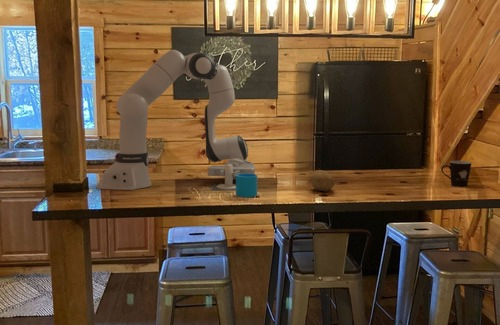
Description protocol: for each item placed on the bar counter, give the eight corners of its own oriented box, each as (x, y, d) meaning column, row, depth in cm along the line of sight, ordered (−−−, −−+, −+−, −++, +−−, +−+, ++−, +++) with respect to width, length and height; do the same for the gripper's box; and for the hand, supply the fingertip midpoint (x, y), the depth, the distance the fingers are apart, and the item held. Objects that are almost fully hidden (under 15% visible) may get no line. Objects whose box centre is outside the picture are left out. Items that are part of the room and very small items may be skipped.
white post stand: (216, 189, 214) (216, 166, 213) (217, 185, 224) (216, 162, 223) (241, 189, 214) (241, 166, 213) (240, 185, 224) (240, 162, 223)
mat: (211, 191, 213) (211, 190, 213) (212, 185, 225) (212, 184, 225) (246, 191, 213) (246, 190, 213) (245, 185, 225) (245, 184, 225)
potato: (314, 194, 207) (315, 174, 206) (306, 187, 221) (307, 169, 219) (339, 194, 208) (339, 174, 207) (329, 187, 222) (330, 168, 221)
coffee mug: (470, 184, 228) (472, 161, 227) (469, 188, 221) (471, 164, 219) (442, 182, 233) (443, 159, 232) (440, 185, 225) (441, 162, 224)
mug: (257, 198, 201) (257, 177, 200) (236, 198, 200) (236, 177, 199) (256, 191, 213) (256, 171, 211) (235, 191, 212) (235, 171, 211)
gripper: (210, 161, 232) (203, 166, 218) (257, 162, 229) (252, 167, 216) (211, 175, 233) (203, 181, 219) (257, 176, 230) (252, 182, 216)
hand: (228, 174), depth 217 cm, fingers closed on white post stand, 3 cm apart
